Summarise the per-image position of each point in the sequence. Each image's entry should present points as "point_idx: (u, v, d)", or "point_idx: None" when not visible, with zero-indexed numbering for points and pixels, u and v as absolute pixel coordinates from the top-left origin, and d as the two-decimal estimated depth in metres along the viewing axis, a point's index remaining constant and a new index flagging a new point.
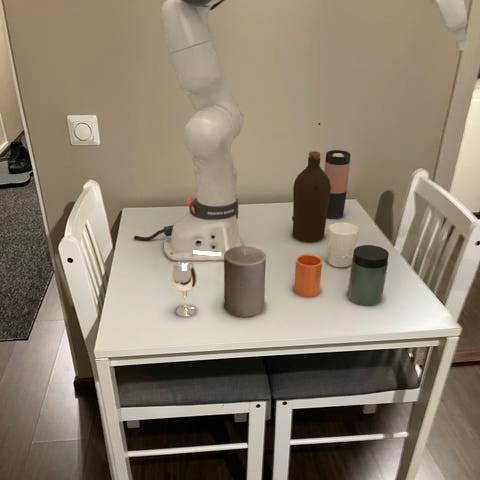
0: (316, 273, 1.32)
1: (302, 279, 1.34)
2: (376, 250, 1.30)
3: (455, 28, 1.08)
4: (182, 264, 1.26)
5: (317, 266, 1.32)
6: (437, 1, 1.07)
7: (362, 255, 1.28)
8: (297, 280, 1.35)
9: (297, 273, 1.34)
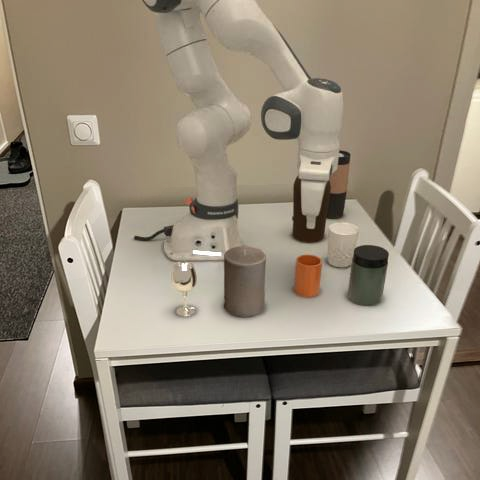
0: (316, 273, 1.32)
1: (302, 279, 1.34)
2: (376, 250, 1.30)
3: (307, 214, 1.17)
4: (182, 264, 1.26)
5: (317, 266, 1.32)
6: (302, 186, 1.15)
7: (362, 255, 1.28)
8: (297, 280, 1.35)
9: (297, 273, 1.34)
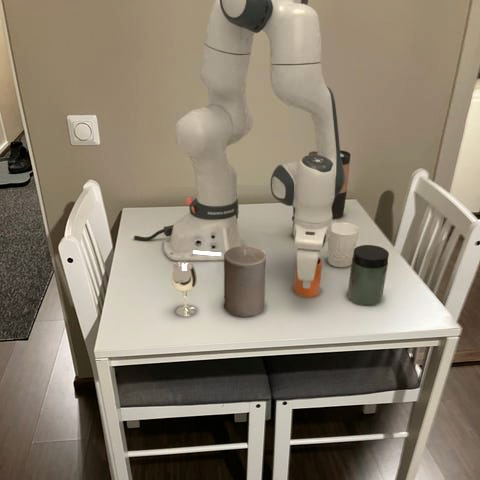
0: (316, 273, 1.33)
1: None
2: (376, 250, 1.30)
3: (303, 280, 1.26)
4: (182, 264, 1.26)
5: (317, 266, 1.32)
6: (297, 255, 1.23)
7: (362, 255, 1.28)
8: (297, 280, 1.35)
9: None
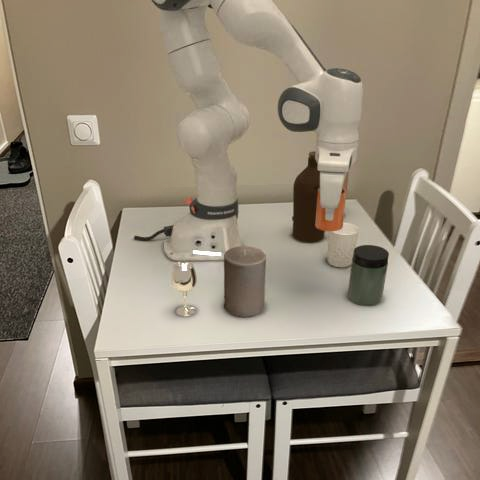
0: (339, 204, 1.22)
1: (324, 211, 1.23)
2: (376, 250, 1.30)
3: (326, 207, 1.15)
4: (182, 264, 1.26)
5: (341, 195, 1.21)
6: (321, 178, 1.13)
7: (362, 255, 1.28)
8: (319, 213, 1.24)
9: (319, 204, 1.23)
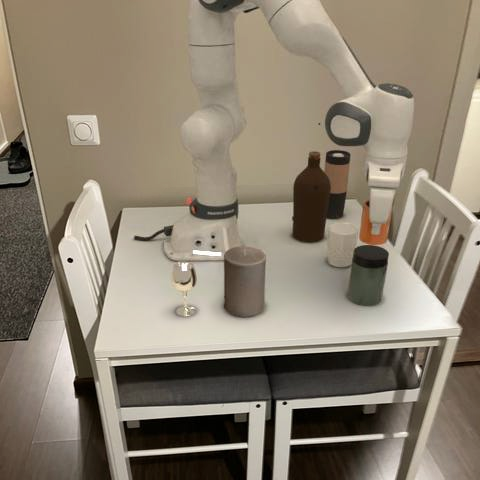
0: None
1: (370, 225, 1.23)
2: (376, 250, 1.30)
3: (375, 222, 1.15)
4: (182, 264, 1.26)
5: None
6: (371, 193, 1.12)
7: (362, 255, 1.28)
8: (364, 226, 1.24)
9: (365, 218, 1.23)
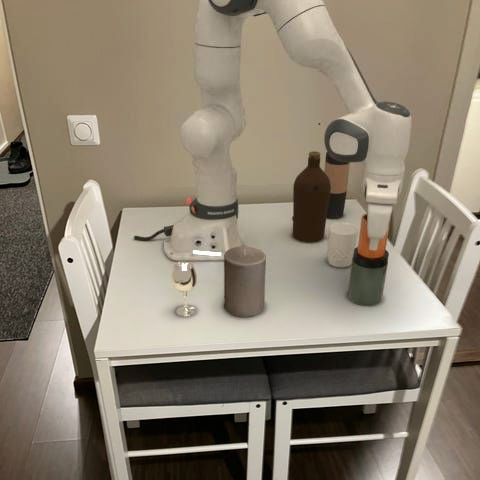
0: None
1: (368, 238, 1.25)
2: None
3: (373, 237, 1.17)
4: (182, 264, 1.26)
5: None
6: (369, 209, 1.14)
7: None
8: (362, 240, 1.26)
9: (363, 232, 1.25)
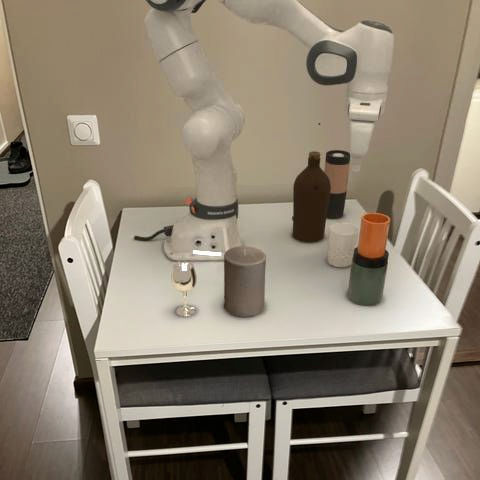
0: (383, 232, 1.23)
1: (368, 238, 1.25)
2: None
3: (355, 155, 1.20)
4: (182, 264, 1.26)
5: (385, 224, 1.23)
6: (351, 126, 1.18)
7: None
8: (362, 240, 1.26)
9: (363, 232, 1.25)
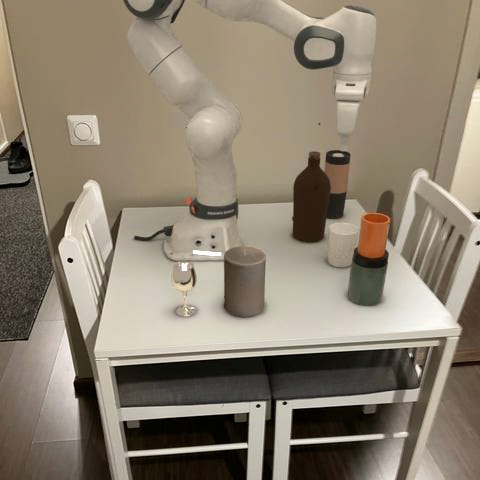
0: (383, 232, 1.23)
1: (368, 238, 1.25)
2: None
3: (342, 134, 1.26)
4: (182, 264, 1.26)
5: (385, 224, 1.23)
6: (338, 106, 1.24)
7: None
8: (362, 240, 1.26)
9: (363, 232, 1.25)
